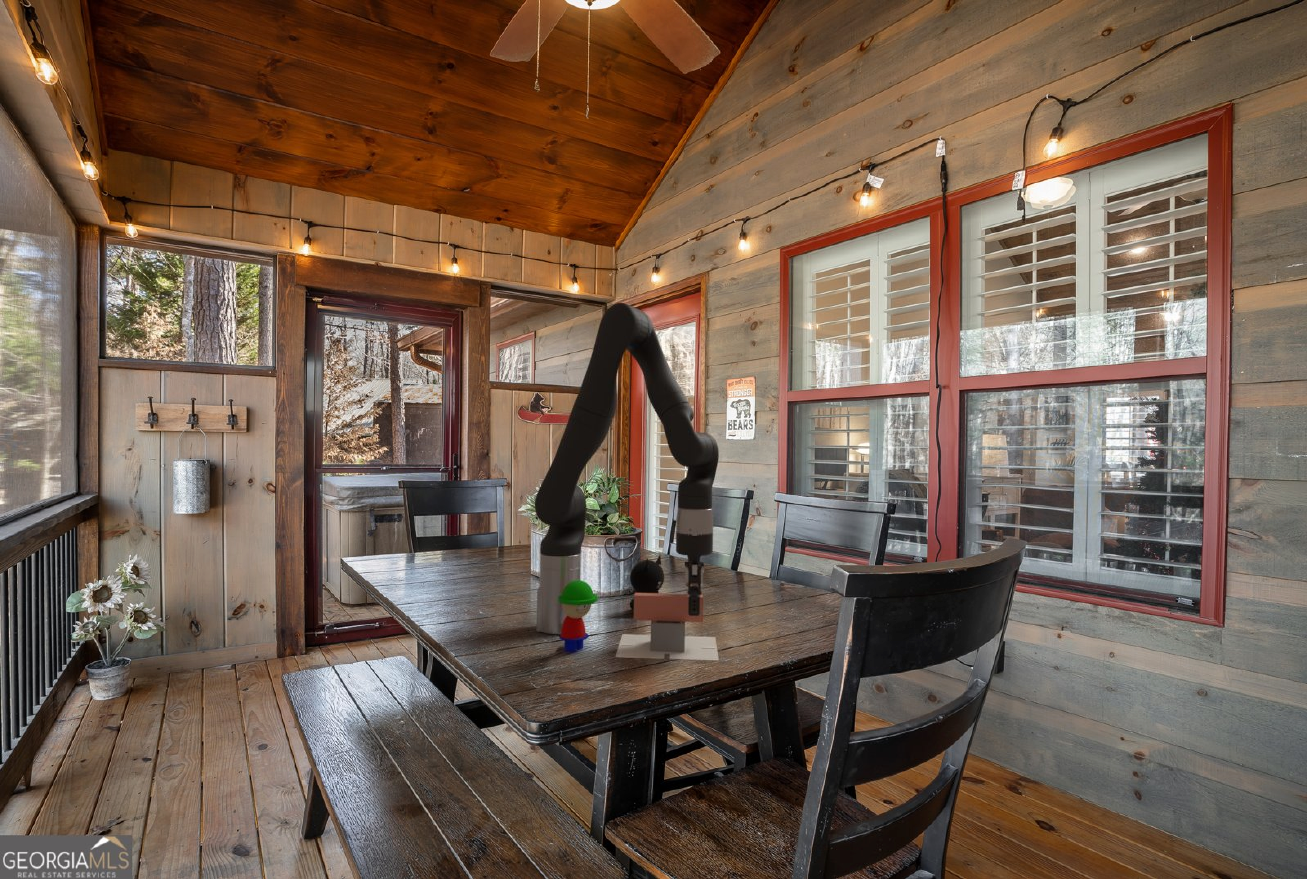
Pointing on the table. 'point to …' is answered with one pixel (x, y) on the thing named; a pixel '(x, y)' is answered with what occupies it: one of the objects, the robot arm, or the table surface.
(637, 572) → the figurine
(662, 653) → the lock board
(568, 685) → the table surface
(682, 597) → the red bar with frame
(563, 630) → the toy
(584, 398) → the robot arm
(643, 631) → the table surface
